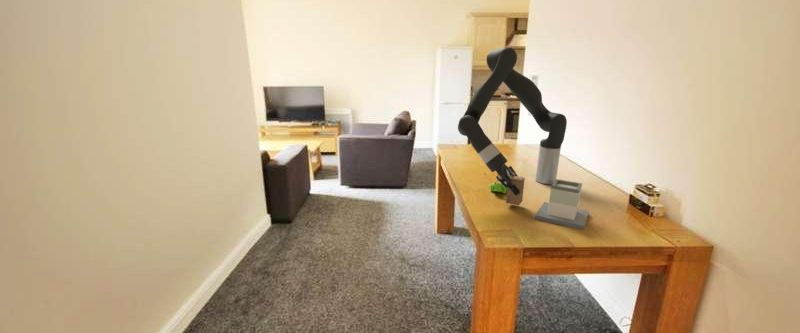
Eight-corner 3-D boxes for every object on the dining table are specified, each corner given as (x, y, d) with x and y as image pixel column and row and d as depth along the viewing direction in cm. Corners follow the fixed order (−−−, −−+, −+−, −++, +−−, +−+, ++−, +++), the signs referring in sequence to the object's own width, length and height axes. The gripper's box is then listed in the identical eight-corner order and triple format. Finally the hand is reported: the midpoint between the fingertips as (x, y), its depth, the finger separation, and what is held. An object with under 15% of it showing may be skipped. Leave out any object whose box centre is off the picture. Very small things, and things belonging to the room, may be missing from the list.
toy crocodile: (499, 182, 171) (501, 170, 170) (514, 185, 168) (515, 172, 166) (487, 194, 155) (488, 181, 153) (502, 197, 152) (503, 183, 150)
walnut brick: (509, 198, 145) (511, 175, 142) (522, 201, 142) (524, 177, 140) (505, 202, 141) (508, 178, 138) (518, 205, 138) (521, 180, 135)
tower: (543, 205, 143) (548, 175, 140) (588, 214, 135) (593, 182, 132) (534, 219, 130) (539, 186, 127) (583, 230, 122) (589, 195, 119)
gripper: (493, 155, 134) (523, 192, 131) (505, 148, 146) (532, 181, 143) (479, 167, 138) (507, 202, 136) (491, 159, 150) (517, 191, 147)
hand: (519, 191), depth 139 cm, fingers closed on walnut brick, 5 cm apart
